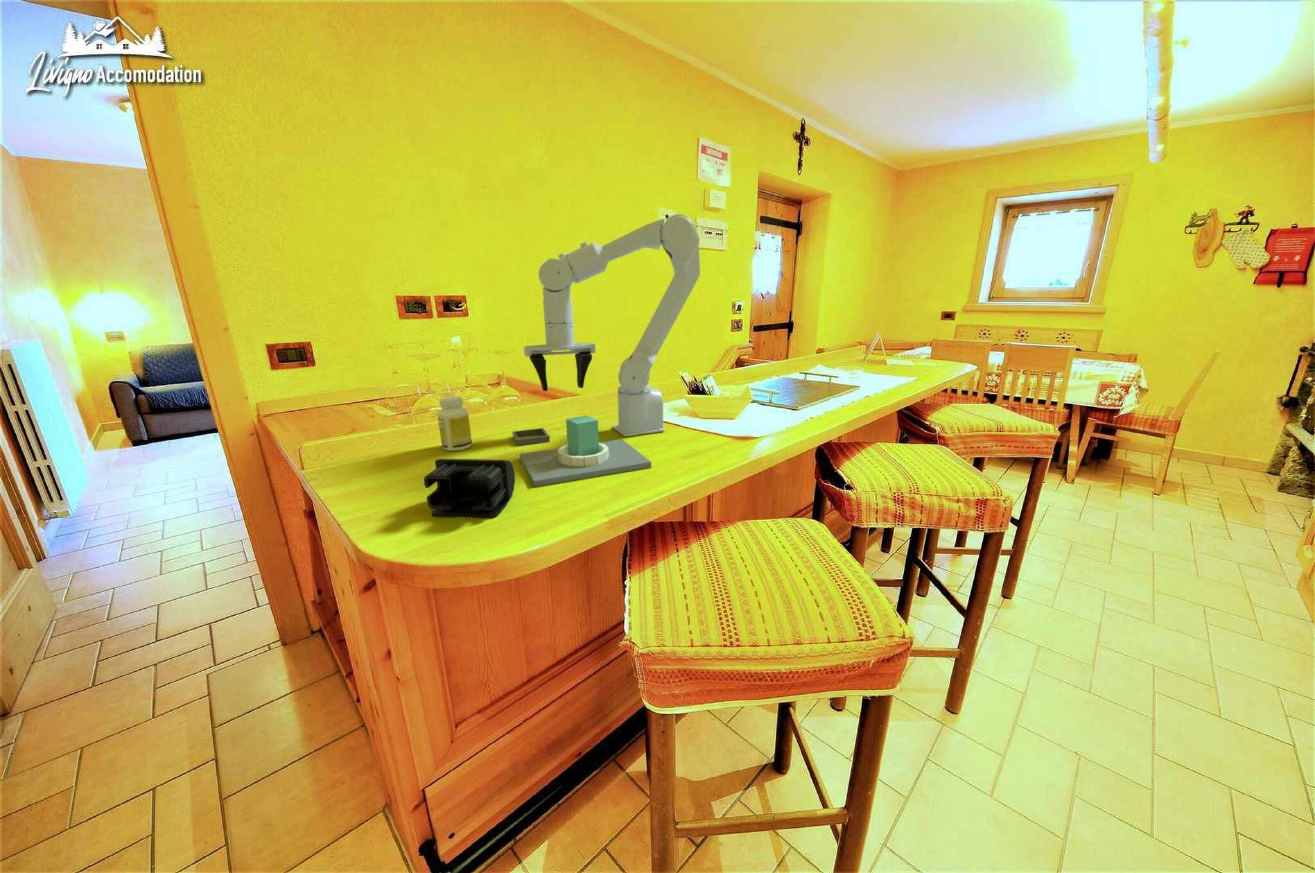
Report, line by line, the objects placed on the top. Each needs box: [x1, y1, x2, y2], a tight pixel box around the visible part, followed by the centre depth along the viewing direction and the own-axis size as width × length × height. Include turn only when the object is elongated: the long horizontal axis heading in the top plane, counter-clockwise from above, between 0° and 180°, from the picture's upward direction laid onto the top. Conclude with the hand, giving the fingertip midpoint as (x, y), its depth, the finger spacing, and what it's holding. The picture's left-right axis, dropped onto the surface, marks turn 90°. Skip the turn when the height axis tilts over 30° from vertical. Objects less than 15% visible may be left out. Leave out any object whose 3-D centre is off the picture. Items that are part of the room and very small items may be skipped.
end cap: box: [423, 458, 516, 519], centre depth 63 cm, size 10×7×7 cm
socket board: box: [519, 439, 652, 488], centre depth 80 cm, size 20×14×3 cm
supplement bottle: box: [437, 395, 473, 452], centre depth 88 cm, size 5×5×10 cm
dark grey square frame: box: [511, 427, 551, 447], centre depth 94 cm, size 6×6×1 cm
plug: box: [565, 415, 600, 456], centre depth 79 cm, size 4×4×7 cm
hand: (562, 388), depth 97 cm, fingers open, 7 cm apart
